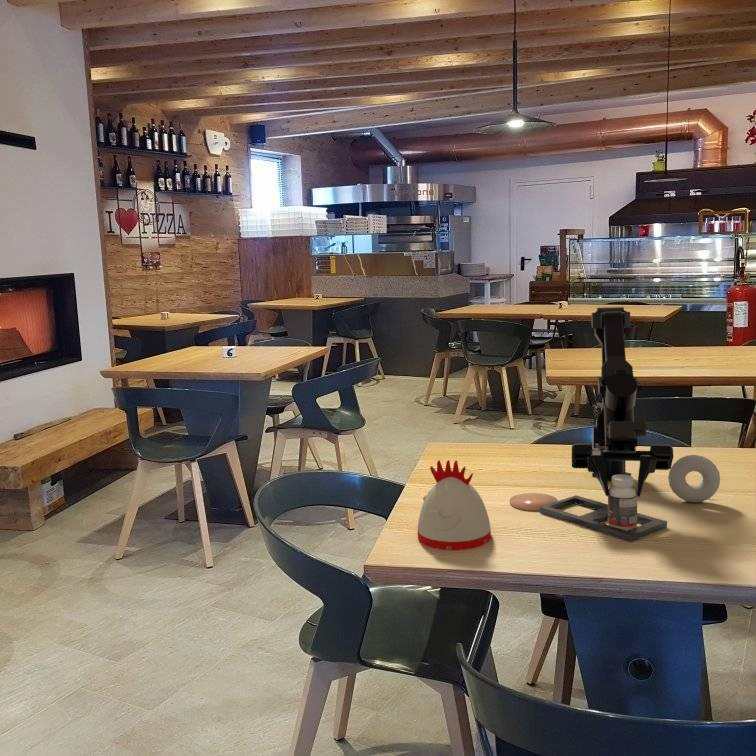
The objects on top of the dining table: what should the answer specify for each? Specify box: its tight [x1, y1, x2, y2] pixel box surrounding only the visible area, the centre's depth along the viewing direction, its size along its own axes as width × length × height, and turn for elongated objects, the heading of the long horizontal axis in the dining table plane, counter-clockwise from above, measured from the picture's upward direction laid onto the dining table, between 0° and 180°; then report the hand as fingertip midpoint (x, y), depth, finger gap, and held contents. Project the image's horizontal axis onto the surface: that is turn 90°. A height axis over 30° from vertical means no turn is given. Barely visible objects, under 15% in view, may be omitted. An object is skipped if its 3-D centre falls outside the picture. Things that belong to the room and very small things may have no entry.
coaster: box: [509, 492, 559, 512], centre depth 169 cm, size 10×10×1 cm
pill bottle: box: [607, 474, 638, 531], centre depth 152 cm, size 5×5×10 cm
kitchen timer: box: [417, 459, 492, 551], centre depth 151 cm, size 14×14×15 cm
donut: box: [667, 454, 721, 504], centre depth 164 cm, size 10×4×10 cm, turn 74°
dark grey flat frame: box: [539, 494, 668, 543], centre depth 157 cm, size 11×22×1 cm, turn 36°
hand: (623, 495), depth 151 cm, fingers closed on pill bottle, 5 cm apart
